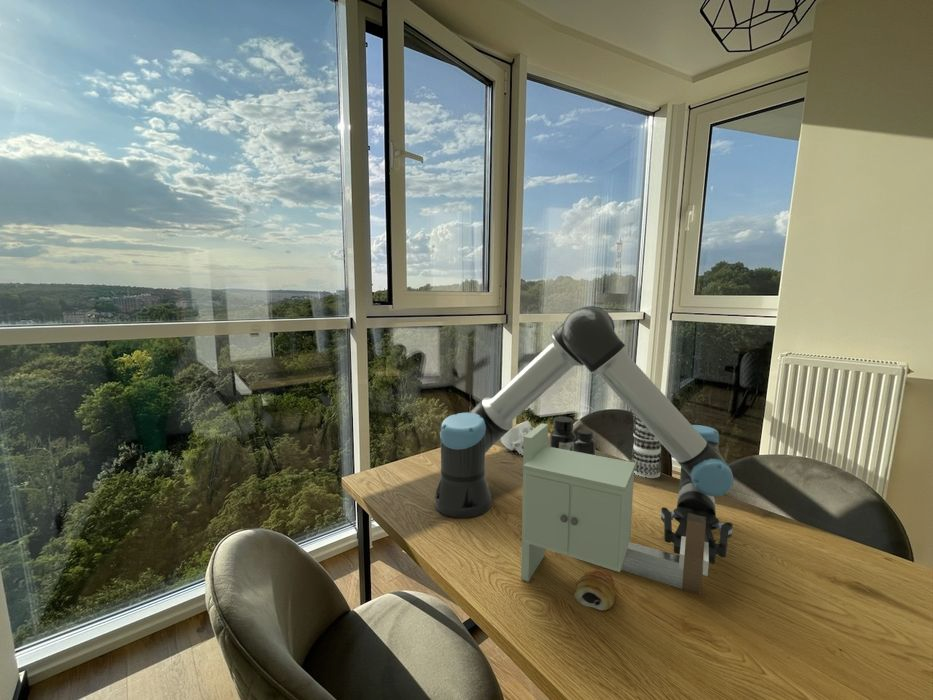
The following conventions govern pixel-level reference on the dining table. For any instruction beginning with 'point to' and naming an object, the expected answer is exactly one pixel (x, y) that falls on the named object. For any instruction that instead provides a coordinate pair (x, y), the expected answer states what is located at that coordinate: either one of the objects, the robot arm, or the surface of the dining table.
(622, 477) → the green cabinet
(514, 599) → the dining table surface
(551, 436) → the ink bottle
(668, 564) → the l-shaped try square
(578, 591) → the pastry
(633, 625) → the dining table surface
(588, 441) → the supplement bottle
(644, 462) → the decorative candle
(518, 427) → the skull bowl
